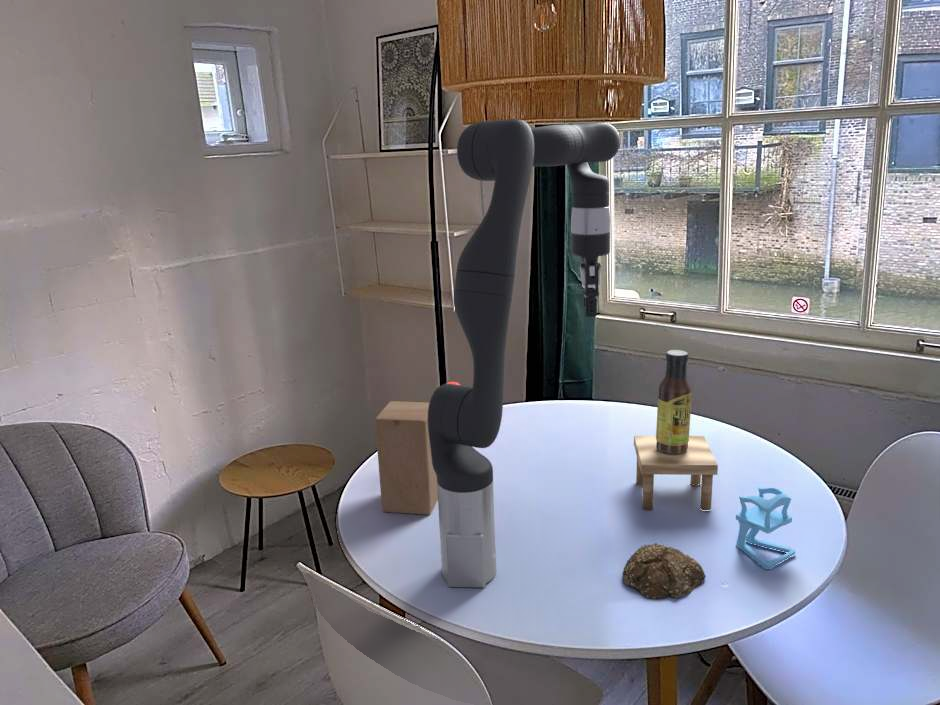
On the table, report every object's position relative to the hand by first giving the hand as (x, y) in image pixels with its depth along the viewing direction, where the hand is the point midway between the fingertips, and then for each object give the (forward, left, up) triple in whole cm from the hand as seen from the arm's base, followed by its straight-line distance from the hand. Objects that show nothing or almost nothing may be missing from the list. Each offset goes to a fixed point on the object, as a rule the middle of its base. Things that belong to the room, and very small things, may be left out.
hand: (590, 311), depth 156 cm
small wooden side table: (-9, -16, -36) cm, 40 cm away
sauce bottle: (-9, -16, -26) cm, 32 cm away
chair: (-30, -28, -36) cm, 55 cm away
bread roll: (-38, -10, -37) cm, 54 cm away
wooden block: (-13, +36, -36) cm, 53 cm away
